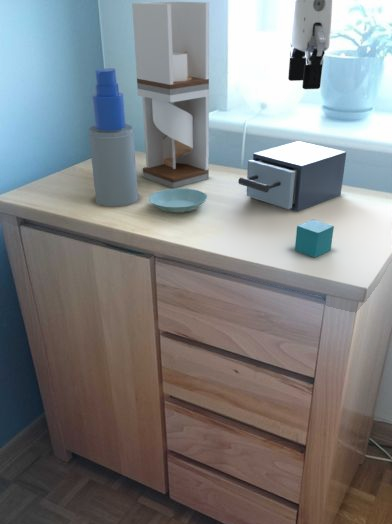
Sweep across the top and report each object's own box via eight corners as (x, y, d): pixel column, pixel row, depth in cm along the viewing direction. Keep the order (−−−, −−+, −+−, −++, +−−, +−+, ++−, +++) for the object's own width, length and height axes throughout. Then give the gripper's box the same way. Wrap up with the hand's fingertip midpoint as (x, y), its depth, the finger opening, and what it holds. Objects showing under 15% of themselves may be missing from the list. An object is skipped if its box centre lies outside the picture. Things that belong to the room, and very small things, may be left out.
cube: (330, 250, 96) (334, 226, 94) (315, 257, 94) (317, 233, 91) (310, 243, 99) (313, 219, 96) (294, 250, 96) (296, 225, 94)
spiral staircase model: (143, 176, 132) (132, 3, 113) (177, 168, 138) (173, 1, 118) (173, 188, 125) (167, 4, 105) (208, 178, 131) (209, 2, 111)
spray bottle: (125, 189, 124) (115, 64, 110) (145, 200, 118) (137, 69, 104) (89, 197, 120) (73, 68, 106) (107, 209, 114) (94, 74, 100)
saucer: (137, 209, 114) (136, 198, 113) (176, 194, 121) (176, 184, 120) (180, 222, 107) (179, 211, 106) (218, 206, 115) (219, 195, 113)
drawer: (271, 215, 108) (274, 177, 104) (229, 201, 115) (230, 165, 111) (329, 194, 118) (334, 158, 114) (287, 182, 125) (290, 148, 121)
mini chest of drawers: (297, 212, 112) (301, 165, 107) (251, 196, 119) (253, 153, 114) (340, 195, 120) (346, 151, 115) (294, 182, 128) (298, 141, 122)
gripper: (352, -24, 90) (337, 91, 100) (318, -24, 104) (309, 76, 114) (306, -24, 89) (296, 93, 99) (279, -24, 103) (273, 78, 113)
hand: (303, 84), depth 106 cm, fingers open, 9 cm apart
